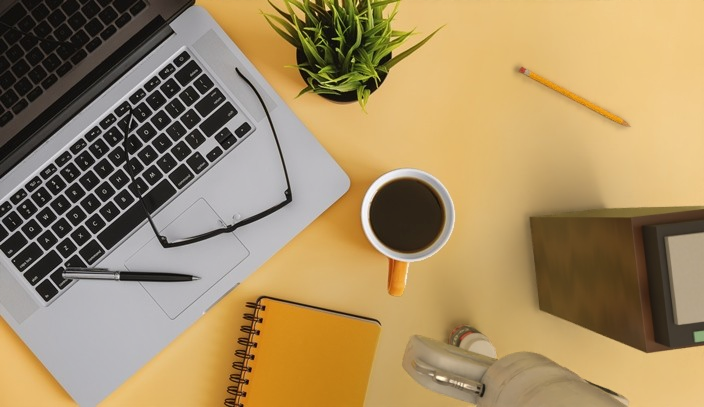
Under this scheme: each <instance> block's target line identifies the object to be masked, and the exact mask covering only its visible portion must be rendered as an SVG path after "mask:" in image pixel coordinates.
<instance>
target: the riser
mask: <svg viewBox="0 0 704 407" xmlns="http://www.w3.org/2000/svg"><path fill="white" fill-rule="evenodd" d="M697 219H704V205H682V206H681V205H680V206H641V207H607V208H597V209H586V210H579V211H578V210H577V211H570V212H562V213H552V214H544V215H543V214H542V215H534V216H529V225H530V234H531V242H532V251H533V259H534V269H535V278H536V287H537V295H538V303H539V310H540V311H541V312H544V313H546V314H549V315H551V316H554V317H556V318H559V319H561V320H564V321H566V322H568V323H571V324H573V325H576V326H578V327H580V328H583V329H586V330H588V331H591V332H593V333H596V334H598V335H601V336H603V337H605V338H608V339H610V340H613V341H616V342H617V343H621V344H623V345H625V346H628V347H630V348H633V349H635V350H638V351H640V352H642V353H645V354H652V353H659V352H667V351H674V350H682V349H688V348H695V347H696V348H697V347H703V346H704V343H703V344H695V345H688V346H681V347H673V348H669V347H667V346H664V345H661V344H658V343H656V342H655V337H654V328H653V319H652V311H651V302H650V294H649V285H648V277H647V268H646V259H645V251H644V242H643V234H642V226H645V225H654V224H662V223H671V222H680V221H688V220H697Z"/></svg>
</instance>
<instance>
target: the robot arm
mask: <svg viewBox="0 0 704 407" xmlns="http://www.w3.org/2000/svg"><path fill="white" fill-rule="evenodd" d="M408 338H409V339H408V341H407V343H406V347H405V350H404V353H403V357H402V360H401V367H402V369H403V371H404V372H405V373H406V374H407V375H408V376H409V377H410V378H411V379H412V380H413V381H414V382H416V383H417V385H420V387H423V388H425V389H426V390H429V391H431V392H434V393H436V394H438V395H442V396H446V397H448V398H452V399H455V400H458V401H461V402H465V403H468V404H471V405H474V406H476V407H630V400H629V399H628V398H627V397H625V396H624V395H622V394H620V393H618V392H616V391H614V390H612V389H610V388H607V387H604V386H602V385H599V384H597V383H593V382H592V381H590V380H587V379H585V378H583V377H582V376H580V375H578V373H575V372H574V371H573V370H571V369H569V368H567V367H565V366H563V365H561V364H559V363H558V362H556V361H554V360H553V359H551V358H549V357H547V356H545V355H543V354H541V353H537V352H534V351H517V352H512V353H509V354H506V355H503V356H502V357H500V358H499V359H498V358H496V359H495V358H491V357H488V356H485V355H482V354H479V353H475V352H472V351H469V350H466V349H463V348H459V347H456V346H453V345H450V344H449V343H446V342H443V341H440V340H437V339H434V338H431V337H427V336H425V335H420V334H412V335H410V336H409V337H408Z"/></svg>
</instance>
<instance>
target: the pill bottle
mask: <svg viewBox="0 0 704 407" xmlns="http://www.w3.org/2000/svg"><path fill="white" fill-rule="evenodd" d="M448 344H450V345H453V346H456V347H459V348H463V349H466V350H469V351H472V352H475V353H479V354H482V355H485V356H488V357H491V358H495V359H497V351H496V350H497V349H496V348H495V345H493V344H492V342H491V340H490V339H489V337H487V336H486V335H485V334H483V333H482V332H481V331H479V330H478V329H476V328H475V327H474V326H472V325H469V324H460V325H458V326H456V327H455V328H453V329H452V330H451V332H450V334H449V337H448Z"/></svg>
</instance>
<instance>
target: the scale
mask: <svg viewBox="0 0 704 407" xmlns="http://www.w3.org/2000/svg"><path fill="white" fill-rule="evenodd" d="M642 234H643V242H644V251H645V259H646V268H647V277H648V285H649V294H650V302H651V311H652V319H653V328H654V337H655V342H656V343H658V344H661V345H664V346H667V347H669V348H673V347H681V346H688V345H695V344H703V343H704V219H697V220H688V221H680V222H671V223H662V224H654V225H645V226H642Z"/></svg>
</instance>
